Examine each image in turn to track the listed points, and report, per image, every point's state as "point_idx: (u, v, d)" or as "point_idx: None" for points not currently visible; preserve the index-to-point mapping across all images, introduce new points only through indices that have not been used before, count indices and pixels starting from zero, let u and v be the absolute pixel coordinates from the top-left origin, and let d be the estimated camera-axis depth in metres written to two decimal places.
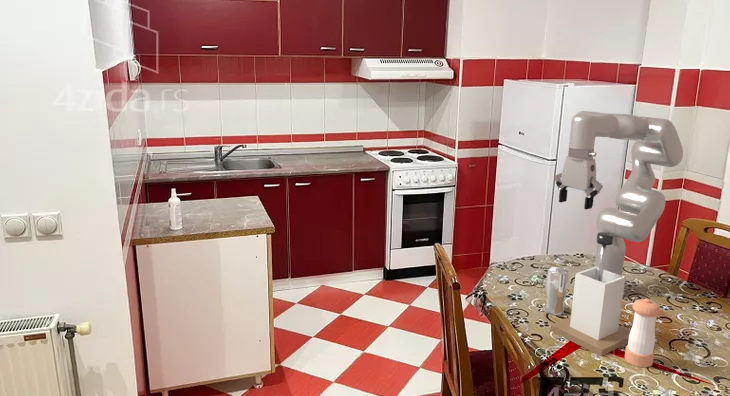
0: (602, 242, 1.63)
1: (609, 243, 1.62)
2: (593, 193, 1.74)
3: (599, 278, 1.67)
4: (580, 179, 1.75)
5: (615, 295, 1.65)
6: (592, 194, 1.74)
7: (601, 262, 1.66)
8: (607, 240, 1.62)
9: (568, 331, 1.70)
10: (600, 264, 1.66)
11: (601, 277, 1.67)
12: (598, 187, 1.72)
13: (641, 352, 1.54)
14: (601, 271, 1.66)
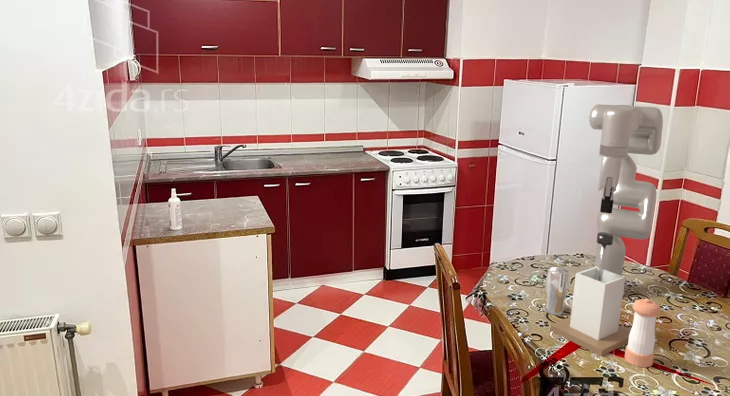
0: (602, 242, 1.63)
1: (609, 243, 1.62)
2: None
3: (599, 278, 1.67)
4: None
5: (615, 295, 1.65)
6: None
7: (601, 262, 1.66)
8: (607, 240, 1.62)
9: (568, 331, 1.70)
10: (600, 264, 1.66)
11: (601, 277, 1.67)
12: None
13: (641, 352, 1.54)
14: (601, 271, 1.66)
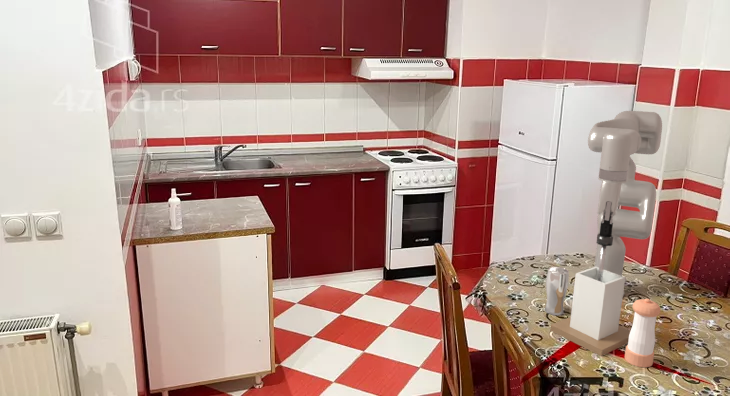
0: (602, 243, 1.63)
1: (609, 244, 1.62)
2: None
3: (599, 279, 1.67)
4: None
5: (615, 295, 1.65)
6: None
7: (601, 263, 1.66)
8: (607, 241, 1.62)
9: (568, 331, 1.70)
10: (600, 265, 1.66)
11: (601, 278, 1.67)
12: None
13: (641, 352, 1.54)
14: (601, 272, 1.66)
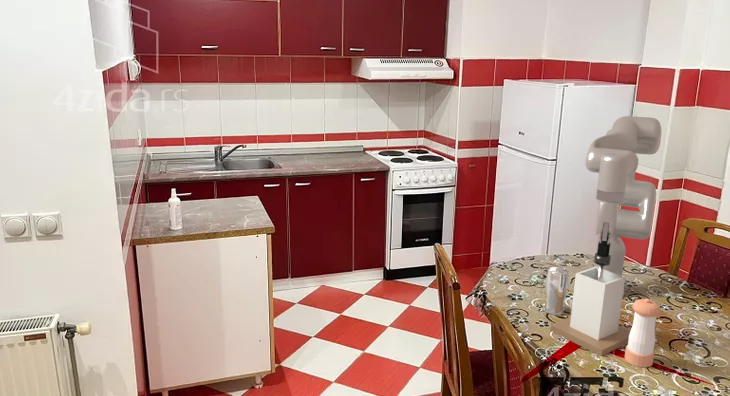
0: (599, 263, 1.64)
1: (606, 264, 1.64)
2: None
3: None
4: None
5: (615, 295, 1.65)
6: None
7: None
8: (605, 260, 1.64)
9: (568, 331, 1.70)
10: None
11: None
12: None
13: (641, 352, 1.54)
14: None
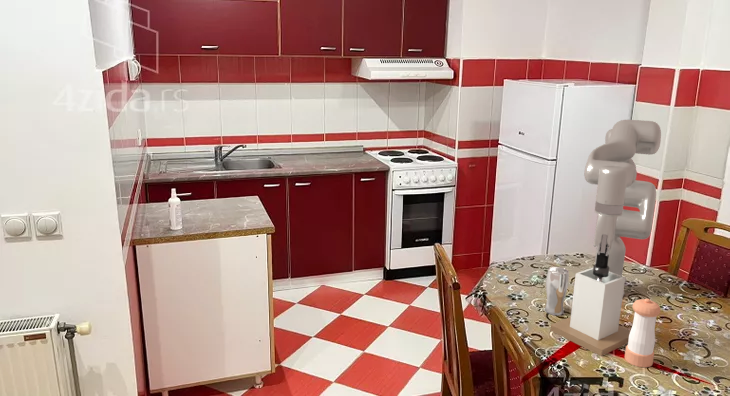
0: (598, 274, 1.65)
1: (605, 275, 1.65)
2: None
3: None
4: None
5: (615, 295, 1.65)
6: (606, 249, 1.67)
7: None
8: (603, 272, 1.65)
9: (568, 331, 1.70)
10: None
11: None
12: None
13: (641, 352, 1.54)
14: None
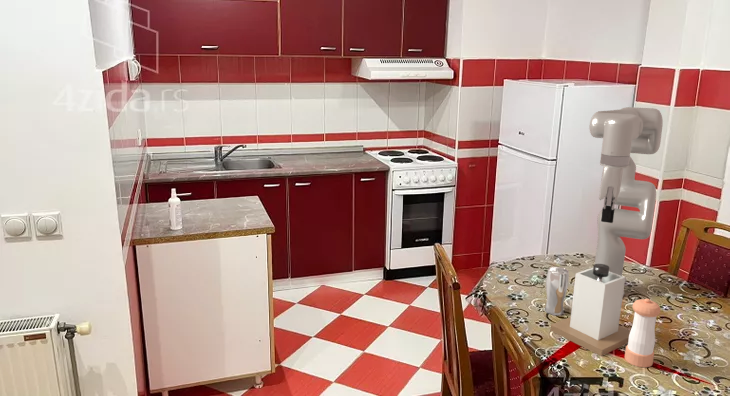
0: (598, 274, 1.65)
1: (605, 275, 1.65)
2: None
3: None
4: None
5: (615, 295, 1.65)
6: None
7: None
8: (603, 272, 1.65)
9: (568, 331, 1.70)
10: None
11: None
12: None
13: (641, 352, 1.54)
14: None
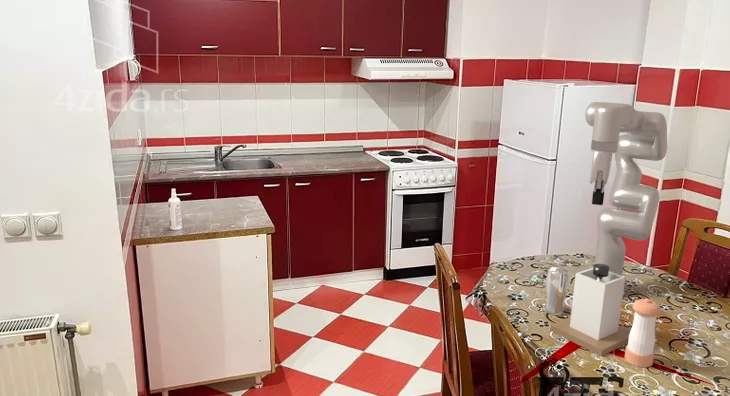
0: (598, 274, 1.65)
1: (605, 275, 1.65)
2: None
3: None
4: None
5: (615, 295, 1.65)
6: None
7: None
8: (603, 272, 1.65)
9: (568, 331, 1.70)
10: None
11: None
12: None
13: (641, 352, 1.54)
14: None
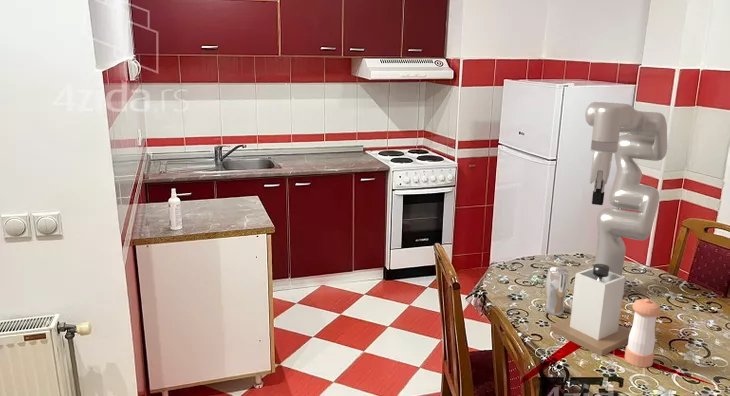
0: (598, 274, 1.65)
1: (605, 275, 1.65)
2: None
3: None
4: None
5: (615, 295, 1.65)
6: None
7: None
8: (603, 272, 1.65)
9: (568, 331, 1.70)
10: None
11: None
12: None
13: (641, 352, 1.54)
14: None
